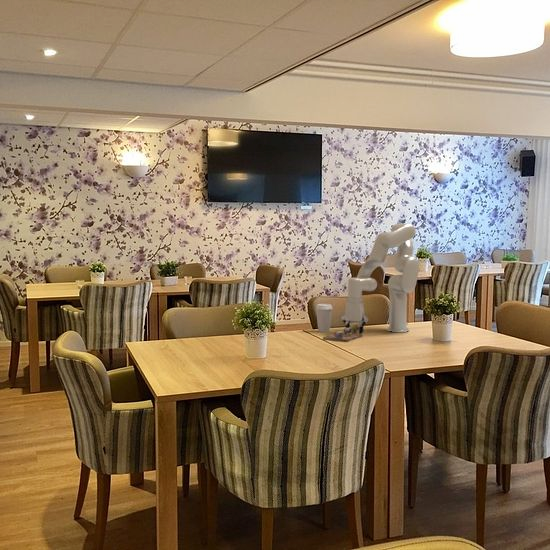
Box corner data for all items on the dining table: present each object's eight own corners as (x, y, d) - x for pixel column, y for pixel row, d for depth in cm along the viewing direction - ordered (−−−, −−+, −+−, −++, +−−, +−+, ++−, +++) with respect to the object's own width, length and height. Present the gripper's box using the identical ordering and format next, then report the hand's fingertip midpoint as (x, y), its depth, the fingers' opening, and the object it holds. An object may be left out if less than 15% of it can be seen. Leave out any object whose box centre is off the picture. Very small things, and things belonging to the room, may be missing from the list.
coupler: (352, 333, 344) (352, 322, 344) (360, 333, 342) (360, 323, 341) (349, 334, 341) (349, 323, 340) (356, 335, 338) (356, 324, 338)
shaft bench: (338, 334, 341) (339, 325, 341) (362, 336, 333) (362, 328, 333) (322, 339, 326) (322, 330, 326) (346, 342, 318) (347, 333, 318)
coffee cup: (312, 330, 352) (312, 304, 350) (327, 329, 356) (327, 303, 354) (320, 333, 343) (320, 306, 342) (335, 332, 347) (335, 305, 346)
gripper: (337, 300, 341) (337, 332, 343) (366, 302, 332) (366, 335, 333) (343, 298, 348) (343, 330, 349) (372, 300, 338) (372, 333, 340)
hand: (354, 332), depth 341 cm, fingers open, 7 cm apart
